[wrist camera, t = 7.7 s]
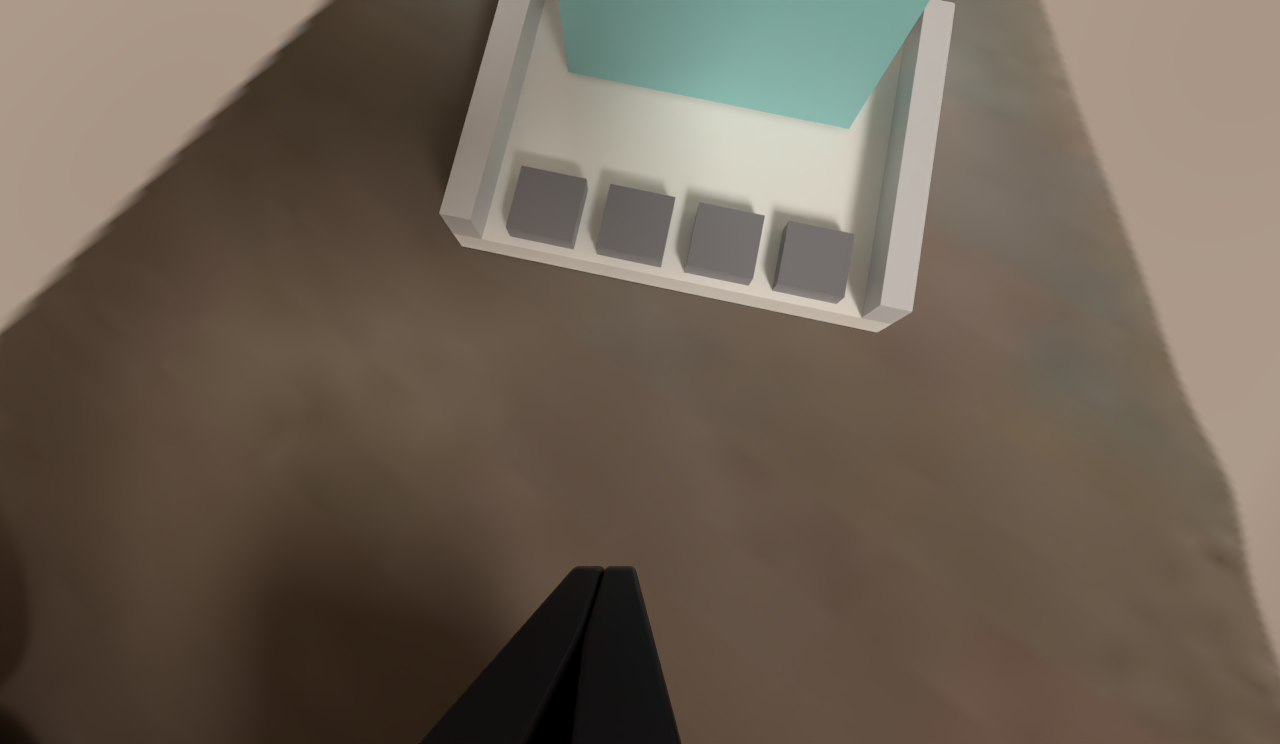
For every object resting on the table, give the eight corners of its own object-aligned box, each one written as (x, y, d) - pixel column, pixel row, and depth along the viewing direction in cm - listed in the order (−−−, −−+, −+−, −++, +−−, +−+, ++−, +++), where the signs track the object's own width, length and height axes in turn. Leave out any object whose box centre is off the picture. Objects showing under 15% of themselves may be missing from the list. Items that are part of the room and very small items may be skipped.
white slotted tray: (877, 332, 23) (911, 311, 20) (461, 246, 23) (439, 213, 20) (918, 57, 24) (955, 3, 22) (533, -20, 25) (522, -84, 22)
